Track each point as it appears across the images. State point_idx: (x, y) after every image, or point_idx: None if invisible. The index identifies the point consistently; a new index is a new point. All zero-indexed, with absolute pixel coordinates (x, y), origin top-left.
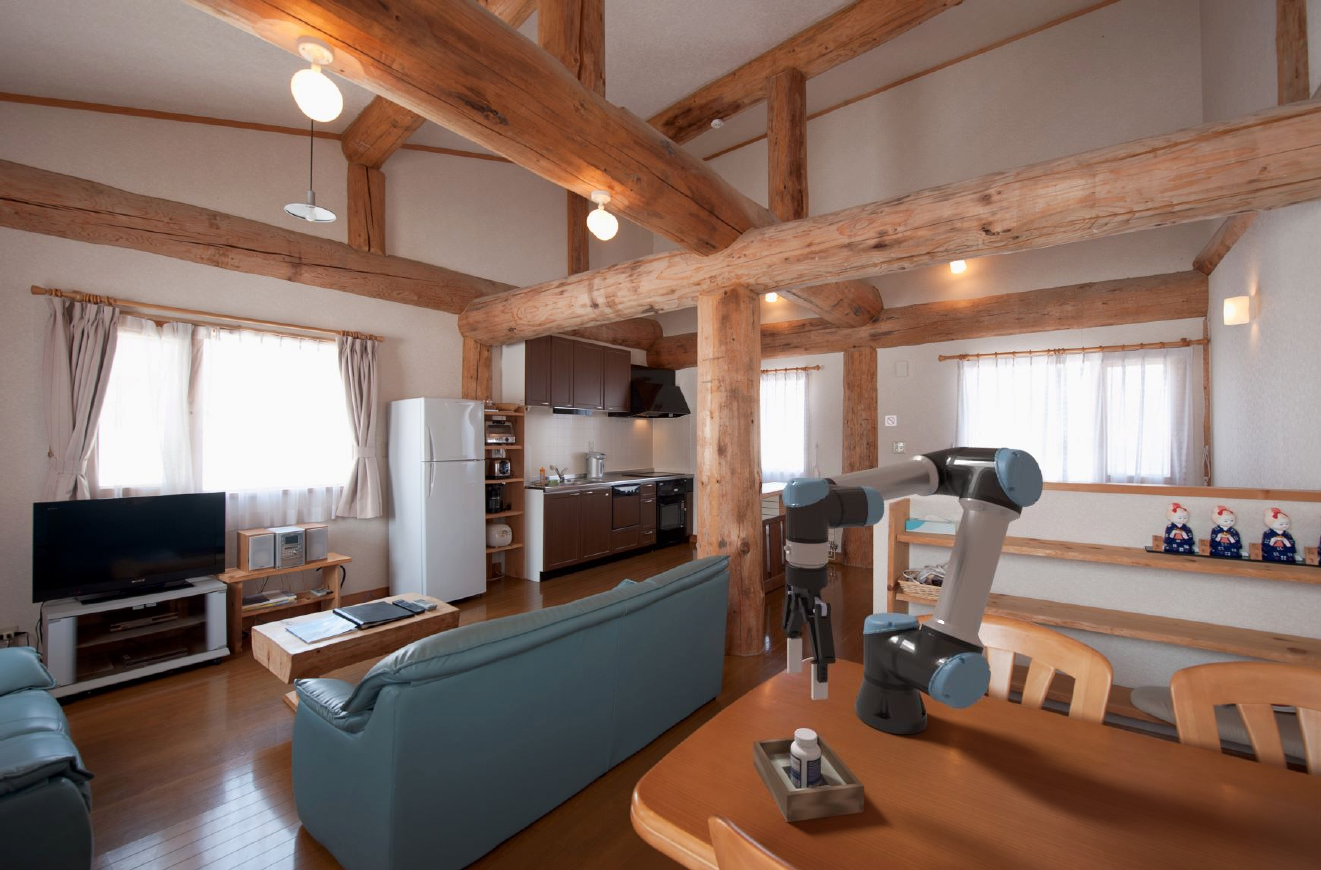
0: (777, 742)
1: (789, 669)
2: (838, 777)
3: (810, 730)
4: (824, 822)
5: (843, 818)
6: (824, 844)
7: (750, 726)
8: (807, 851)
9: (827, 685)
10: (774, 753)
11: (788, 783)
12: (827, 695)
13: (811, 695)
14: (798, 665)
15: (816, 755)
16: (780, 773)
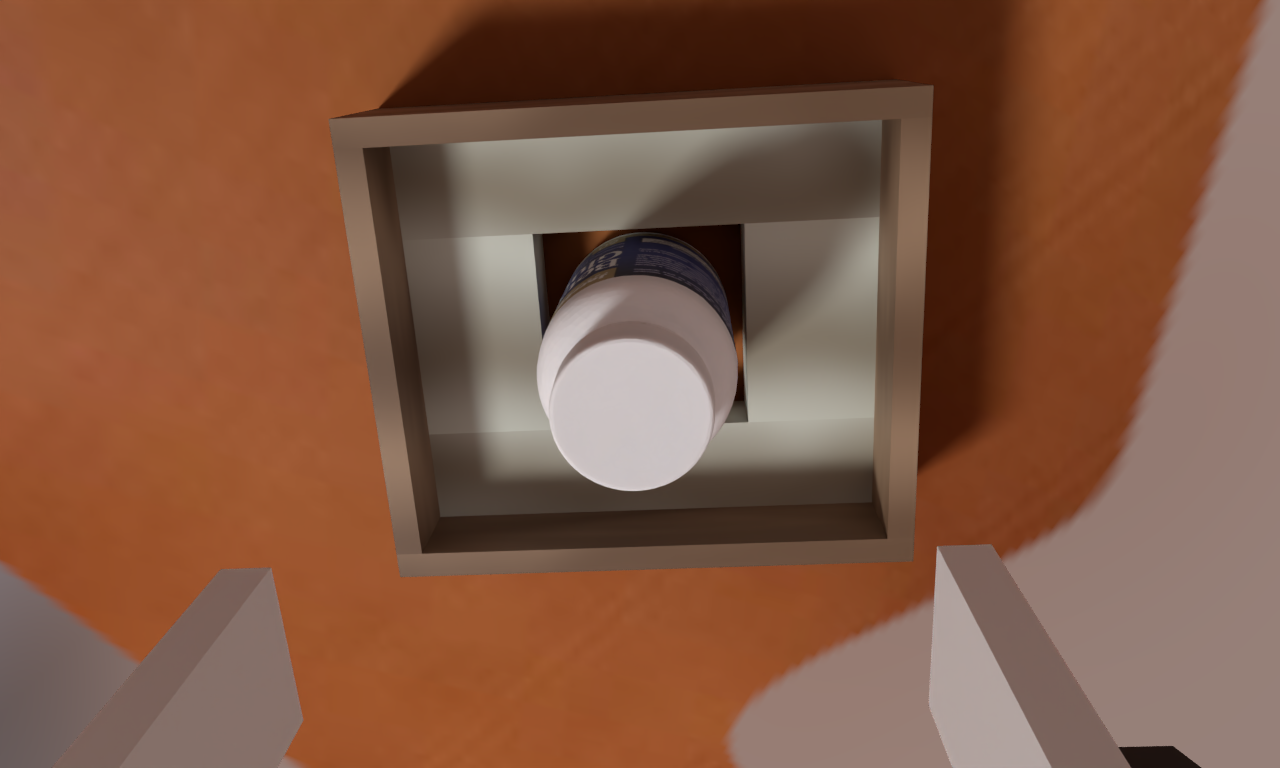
0: (407, 438)
1: (284, 751)
2: (685, 137)
3: (588, 364)
4: None
5: None
6: (1054, 384)
7: (54, 419)
8: (1072, 472)
9: (1054, 649)
10: (427, 430)
11: None
12: (1000, 567)
13: (937, 725)
14: (237, 668)
15: (730, 344)
16: None
